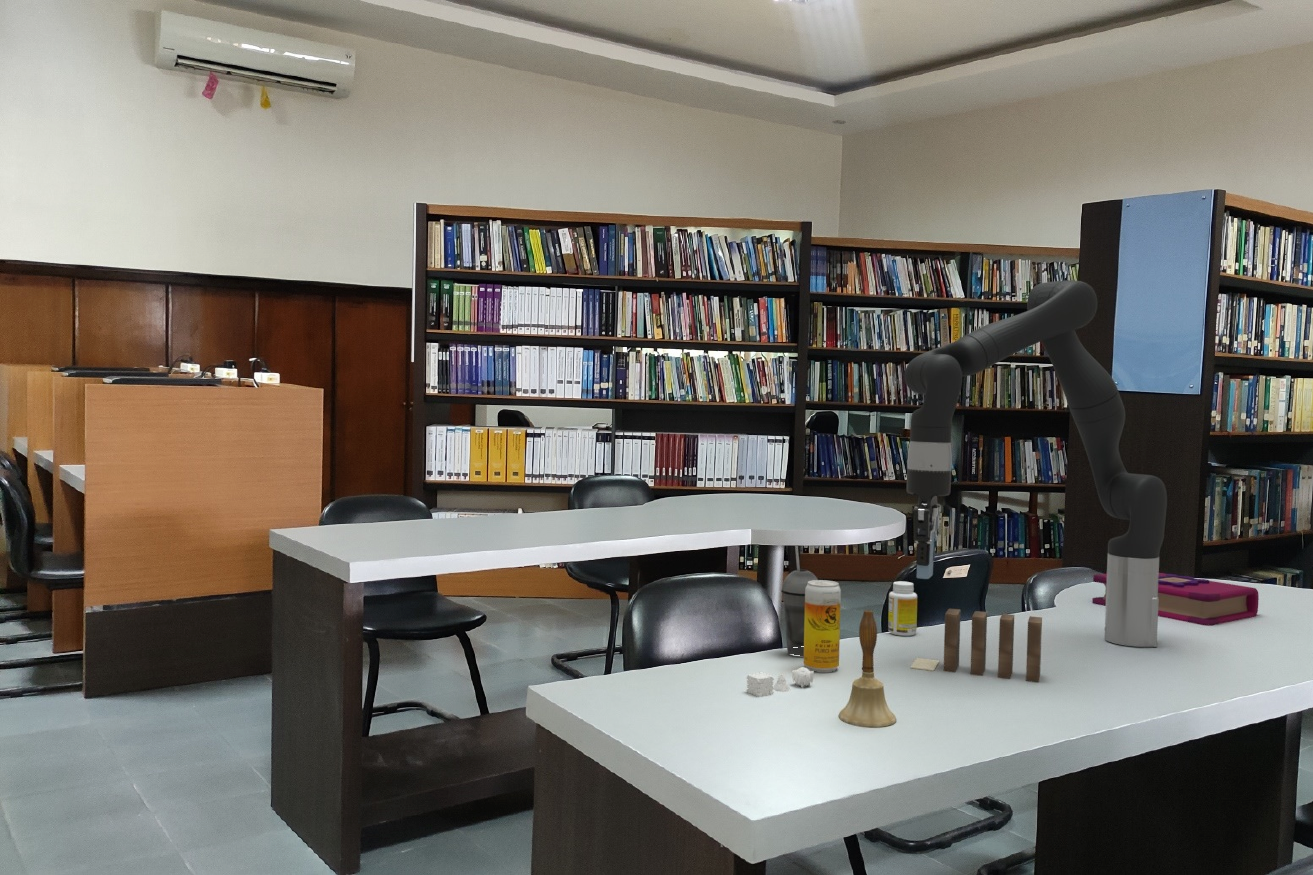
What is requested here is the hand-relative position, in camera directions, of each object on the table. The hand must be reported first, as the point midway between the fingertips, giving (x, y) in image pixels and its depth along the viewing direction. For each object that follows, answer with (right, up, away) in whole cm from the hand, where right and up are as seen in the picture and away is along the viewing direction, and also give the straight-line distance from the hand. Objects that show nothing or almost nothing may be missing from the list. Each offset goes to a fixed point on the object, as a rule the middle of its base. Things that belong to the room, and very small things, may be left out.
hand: (925, 562), depth 179 cm
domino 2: (+4, -18, -2) cm, 19 cm away
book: (+71, -18, +54) cm, 91 cm away
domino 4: (+12, -19, -5) cm, 23 cm away
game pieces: (-28, -19, -17) cm, 37 cm away
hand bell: (-17, -19, -31) cm, 40 cm away
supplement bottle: (+2, -17, +24) cm, 30 cm away
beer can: (-19, -18, -4) cm, 27 cm away
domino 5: (+16, -19, -7) cm, 26 cm away
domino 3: (+8, -18, -4) cm, 20 cm away
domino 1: (0, -2, 0) cm, 2 cm away
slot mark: (0, -18, 0) cm, 18 cm away
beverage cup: (-22, -18, +6) cm, 28 cm away
